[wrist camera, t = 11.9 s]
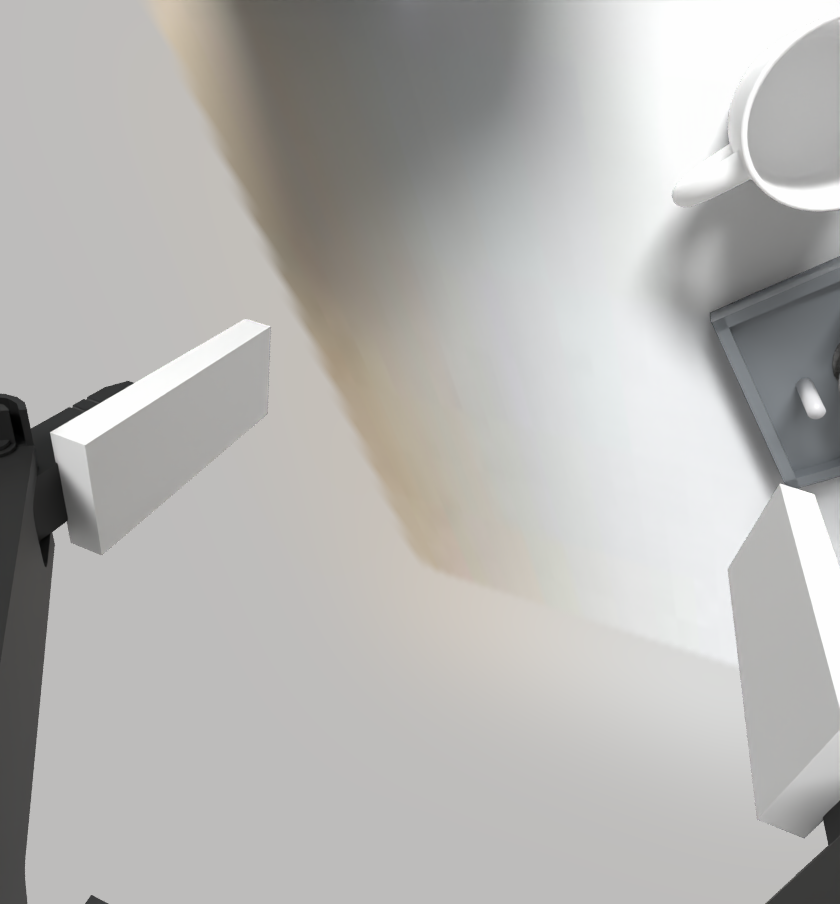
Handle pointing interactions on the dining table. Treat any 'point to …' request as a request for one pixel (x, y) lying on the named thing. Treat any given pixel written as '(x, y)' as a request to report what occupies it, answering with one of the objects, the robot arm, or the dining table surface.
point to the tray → (790, 369)
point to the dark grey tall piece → (837, 365)
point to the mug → (782, 126)
